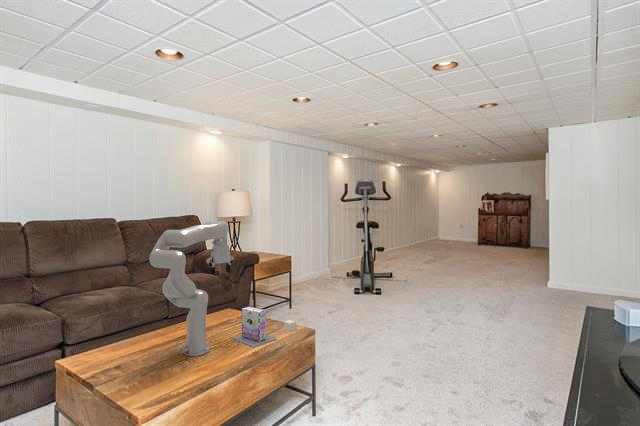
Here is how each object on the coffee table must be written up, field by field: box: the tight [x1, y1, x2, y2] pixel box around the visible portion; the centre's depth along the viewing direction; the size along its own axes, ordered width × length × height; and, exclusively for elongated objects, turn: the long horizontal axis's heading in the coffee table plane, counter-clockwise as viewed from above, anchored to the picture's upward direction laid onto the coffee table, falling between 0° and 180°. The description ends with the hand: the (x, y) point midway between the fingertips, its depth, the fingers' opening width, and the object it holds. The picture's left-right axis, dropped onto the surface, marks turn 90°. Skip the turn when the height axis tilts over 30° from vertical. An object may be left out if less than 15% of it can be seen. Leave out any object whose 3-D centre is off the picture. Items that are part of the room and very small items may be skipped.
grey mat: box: [231, 334, 278, 348], centre depth 200 cm, size 16×20×1 cm
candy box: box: [241, 306, 267, 342], centre depth 200 cm, size 14×6×16 cm, turn 56°
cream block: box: [283, 319, 297, 333], centre depth 216 cm, size 5×5×5 cm
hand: (220, 273), depth 203 cm, fingers open, 9 cm apart
